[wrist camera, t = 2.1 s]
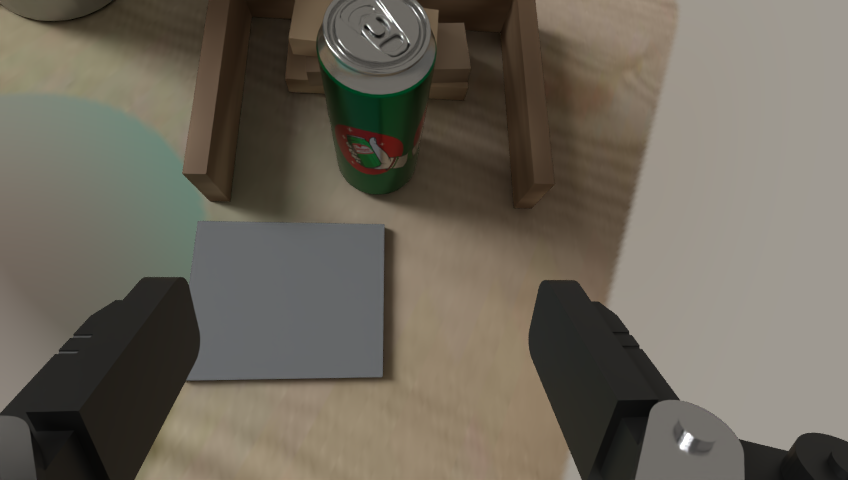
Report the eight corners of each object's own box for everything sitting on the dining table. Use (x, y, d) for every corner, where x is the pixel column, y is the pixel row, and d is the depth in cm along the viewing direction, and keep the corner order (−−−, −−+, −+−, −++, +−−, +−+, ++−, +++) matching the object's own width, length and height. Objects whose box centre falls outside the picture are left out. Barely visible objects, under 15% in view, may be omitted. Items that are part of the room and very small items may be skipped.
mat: (180, 380, 24) (175, 380, 23) (201, 224, 26) (197, 220, 26) (382, 376, 25) (382, 377, 24) (384, 227, 28) (384, 224, 27)
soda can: (381, 114, 30) (384, -44, 18) (431, 167, 29) (466, 36, 18) (322, 157, 29) (285, 15, 17) (372, 213, 28) (369, 104, 16)
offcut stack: (288, 97, 29) (274, 55, 25) (293, 40, 31) (280, -10, 27) (464, 105, 31) (477, 66, 27) (461, 50, 32) (473, 4, 28)
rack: (209, 200, 27) (182, 173, 23) (236, 1, 31) (216, -50, 27) (531, 208, 29) (554, 184, 25) (514, 20, 33) (532, -25, 29)
